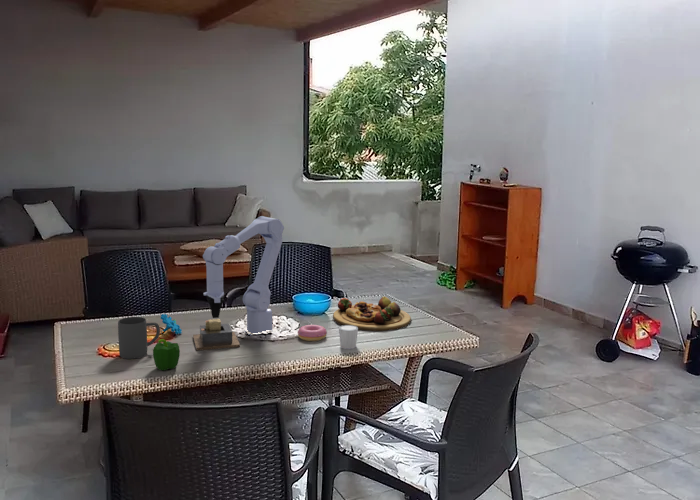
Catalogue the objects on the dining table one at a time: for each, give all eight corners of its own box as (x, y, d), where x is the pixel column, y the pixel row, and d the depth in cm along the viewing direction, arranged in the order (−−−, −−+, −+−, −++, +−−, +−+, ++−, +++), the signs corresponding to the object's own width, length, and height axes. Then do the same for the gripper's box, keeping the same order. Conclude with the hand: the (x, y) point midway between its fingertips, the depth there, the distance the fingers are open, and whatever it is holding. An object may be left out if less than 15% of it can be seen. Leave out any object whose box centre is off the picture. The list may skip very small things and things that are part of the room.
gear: (179, 334, 237) (159, 314, 237) (167, 345, 237) (148, 325, 237) (186, 329, 248) (168, 310, 248) (175, 339, 248) (157, 321, 248)
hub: (234, 334, 243) (234, 321, 242) (239, 347, 229) (239, 333, 228) (193, 337, 239) (192, 324, 238) (196, 350, 225) (196, 336, 224)
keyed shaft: (219, 337, 236) (219, 318, 235) (221, 340, 232) (220, 321, 231) (205, 338, 235) (205, 319, 233) (206, 341, 231) (206, 322, 230)
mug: (122, 361, 213) (120, 325, 211) (116, 352, 221) (115, 318, 219) (164, 354, 220) (163, 320, 218) (157, 346, 228) (155, 313, 226)
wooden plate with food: (316, 320, 265) (317, 300, 263) (366, 304, 288) (367, 286, 287) (377, 339, 244) (378, 318, 243) (425, 320, 268) (427, 301, 266)
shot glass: (344, 350, 228) (344, 331, 227) (335, 344, 234) (335, 326, 233) (361, 347, 231) (361, 329, 230) (352, 342, 237) (352, 323, 236)
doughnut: (307, 331, 249) (307, 321, 248) (332, 336, 244) (332, 325, 243) (291, 339, 239) (291, 328, 239) (317, 344, 234) (317, 333, 234)
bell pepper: (175, 361, 214) (174, 332, 212) (183, 369, 207) (182, 339, 205) (149, 366, 209) (148, 336, 207) (157, 374, 202) (155, 343, 200)
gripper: (201, 276, 235) (202, 312, 238) (205, 285, 222) (206, 323, 224) (221, 275, 238) (221, 311, 240) (226, 284, 224) (226, 322, 226)
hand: (215, 317), depth 232 cm, fingers closed
